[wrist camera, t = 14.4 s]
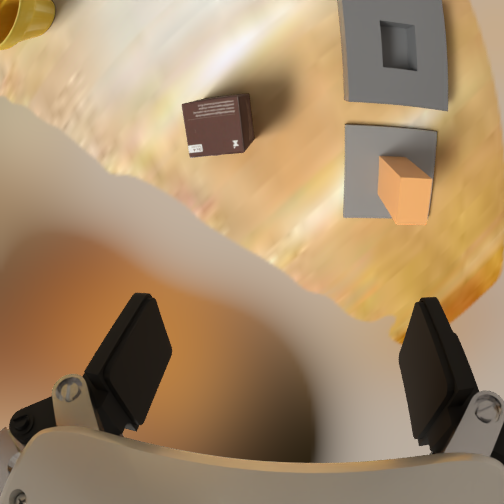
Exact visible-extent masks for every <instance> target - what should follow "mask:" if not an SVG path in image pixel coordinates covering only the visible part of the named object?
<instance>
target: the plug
mask: <svg viewBox="0 0 504 504" xmlns="http://www.w3.org/2000/svg"><path fill="white" fill-rule="evenodd" d="M431 187H432V178H431V177H429V176H428V175H427V174H426V173H425V172H423V171H422V170H421V169H420V168H419V167H417V166H416V165H415V164H414V163H412V162H411V161H410V160H409V159H407V158H406V157H394V156H379V176H378V193H377V194H378V196H379V197H380V199H381V200H382V202H383V204H384V205H385V207H386V209H387V210H388V212H389V214H390V215H391V217H392V219H393V220H394V222H395V224H396V225H426V224H427V217H428V211H429V204H430V196H431Z"/></svg>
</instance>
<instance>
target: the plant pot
mask: <svg viewBox="0 0 504 504" xmlns="http://www.w3.org/2000/svg"><path fill="white" fill-rule="evenodd" d="M54 16H55V5H54V3H53V2H52V1H51V0H0V50H4V49H8V48H11V47H13V46H14V45H16V44H17V43H18V42H21V41H24V40H27V39H30V38H34V37H37V36H40V35H42V34H43V33H45V32H46V31H47V30H48V28H49V27H50V25H51V24H52V22H53V19H54Z"/></svg>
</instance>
